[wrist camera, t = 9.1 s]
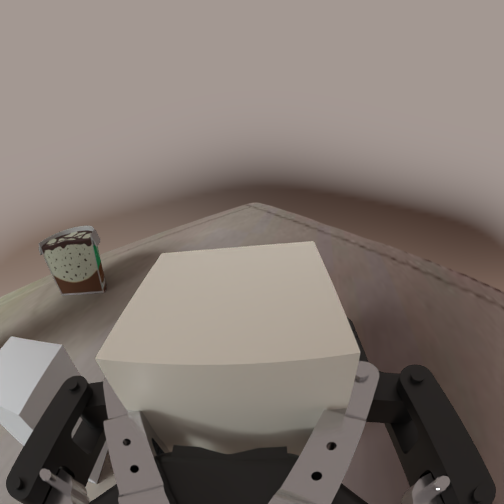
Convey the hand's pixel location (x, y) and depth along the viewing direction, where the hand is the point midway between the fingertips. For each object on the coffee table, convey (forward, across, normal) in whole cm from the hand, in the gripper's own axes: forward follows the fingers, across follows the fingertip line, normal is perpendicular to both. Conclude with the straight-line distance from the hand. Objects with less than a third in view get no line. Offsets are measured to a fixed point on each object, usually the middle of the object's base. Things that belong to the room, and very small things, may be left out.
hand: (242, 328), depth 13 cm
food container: (+27, +30, +12) cm, 42 cm away
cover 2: (-2, 0, +6) cm, 7 cm away
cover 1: (-2, +16, +13) cm, 21 cm away
